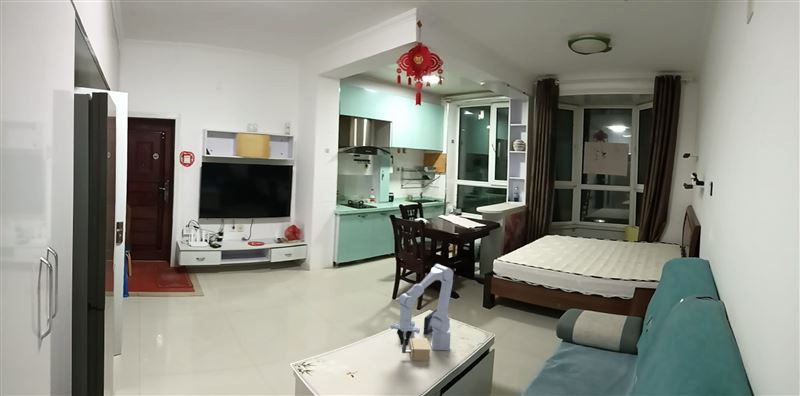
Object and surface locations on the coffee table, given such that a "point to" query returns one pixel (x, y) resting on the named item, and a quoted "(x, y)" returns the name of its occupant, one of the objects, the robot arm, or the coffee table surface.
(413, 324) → the medicine box
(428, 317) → the vhs cassette tape
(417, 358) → the carton
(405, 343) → the wooden box lid
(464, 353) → the coffee table surface
